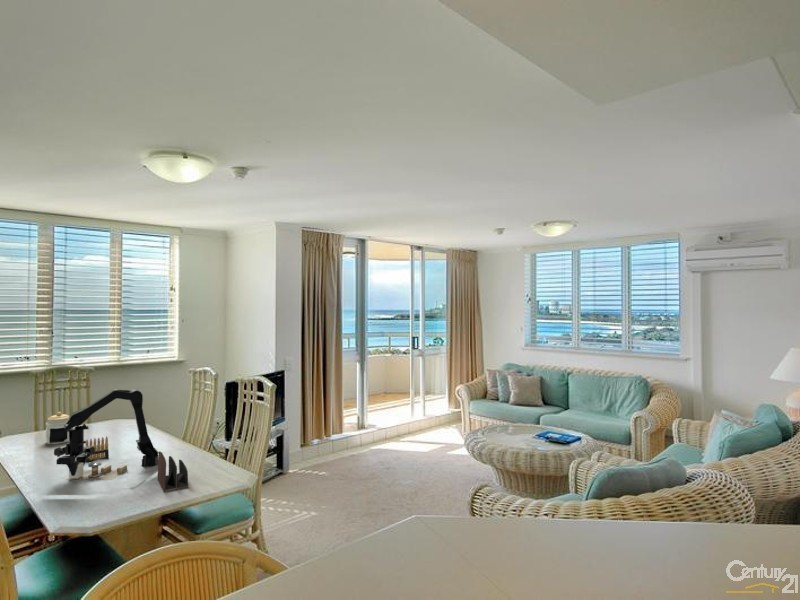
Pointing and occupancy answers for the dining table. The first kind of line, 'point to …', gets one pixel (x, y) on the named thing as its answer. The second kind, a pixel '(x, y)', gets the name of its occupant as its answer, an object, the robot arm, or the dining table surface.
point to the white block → (77, 471)
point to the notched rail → (108, 468)
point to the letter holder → (172, 474)
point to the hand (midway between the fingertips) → (76, 474)
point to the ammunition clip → (98, 450)
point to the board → (105, 476)
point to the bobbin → (94, 469)
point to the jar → (56, 425)
